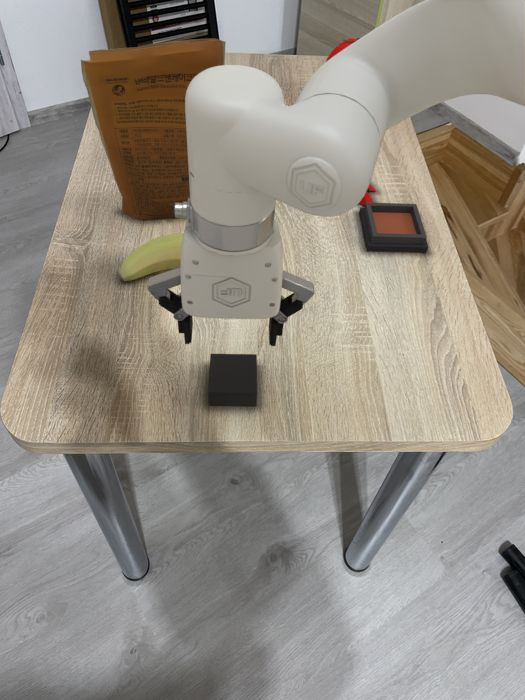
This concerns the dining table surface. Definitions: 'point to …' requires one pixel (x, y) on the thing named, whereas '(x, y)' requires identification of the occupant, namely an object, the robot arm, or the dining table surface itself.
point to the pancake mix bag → (147, 118)
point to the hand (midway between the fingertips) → (230, 335)
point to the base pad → (393, 228)
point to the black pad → (233, 380)
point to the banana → (153, 257)
